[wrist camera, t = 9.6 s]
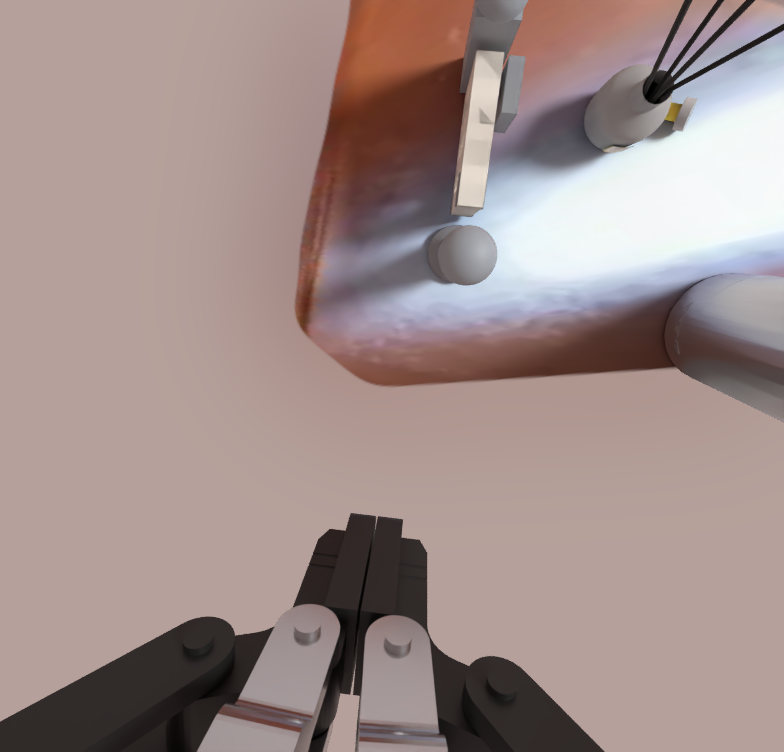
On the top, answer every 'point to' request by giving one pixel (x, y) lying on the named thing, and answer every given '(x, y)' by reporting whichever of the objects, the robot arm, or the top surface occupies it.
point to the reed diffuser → (652, 91)
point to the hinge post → (462, 254)
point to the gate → (476, 134)
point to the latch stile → (496, 33)
